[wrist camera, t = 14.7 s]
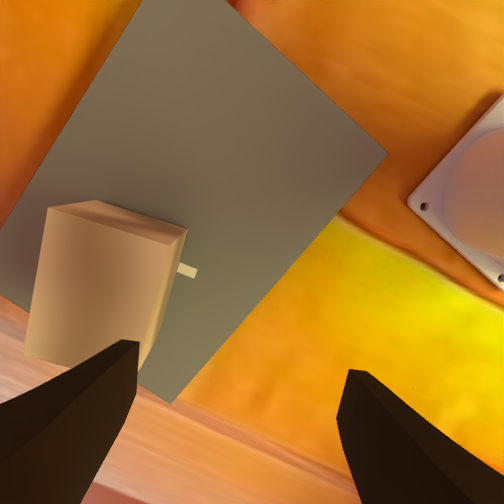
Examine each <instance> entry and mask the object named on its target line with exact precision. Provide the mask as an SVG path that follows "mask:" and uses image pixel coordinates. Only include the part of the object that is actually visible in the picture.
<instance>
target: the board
mask: <svg viewBox="0 0 504 504" xmlns="http://www.w3.org/2000/svg"><path fill="white" fill-rule="evenodd" d="M388 154H389V153H388V152H387V151H386V150H385V149H384V148H383V147H382V146H381V145H380V144H378V143H377V142H376V141H375V140H374V139H373V138H372V137H371V136H370V135H369V134H368V133H367V132H366V131H365V130H363V129H362V128H361V127H360V126H359V125H358V124H357V123H356V122H355V121H354V120H353V119H352V118H351V117H350V116H348V115H347V114H346V113H345V112H344V111H343V110H342V109H341V108H340V107H339V106H338V105H337V104H336V103H335V102H334V101H332V100H331V99H330V98H329V97H328V96H327V95H326V94H325V93H324V92H323V91H322V90H321V89H320V88H319V87H317V86H316V85H315V84H314V83H313V82H312V81H311V80H310V79H309V78H308V77H307V76H306V75H305V74H304V73H302V72H301V71H300V70H299V69H298V68H297V67H296V66H295V65H294V64H293V63H292V62H291V61H290V60H289V59H287V58H286V57H285V56H284V55H283V54H282V53H281V52H280V51H279V50H278V49H277V48H276V47H275V46H274V45H273V44H271V43H270V42H269V41H268V40H267V39H266V38H265V37H264V36H263V35H262V34H261V33H260V32H259V31H258V30H256V29H255V28H254V27H253V26H252V25H251V24H250V23H249V22H248V21H247V20H246V19H245V18H244V17H243V16H241V15H240V14H239V13H238V12H237V11H236V10H235V9H234V8H233V7H232V6H231V5H230V4H229V3H228V2H226V1H225V0H143V1H142V2H141V4H140V6H139V7H138V9H137V11H136V12H135V14H134V15H133V17H132V19H131V20H130V22H129V23H128V25H127V27H126V28H125V30H124V31H123V33H122V35H121V36H120V38H119V39H118V41H117V43H116V44H115V46H114V47H113V49H112V51H111V52H110V54H109V56H108V57H107V59H106V60H105V62H104V64H103V65H102V67H101V68H100V70H99V72H98V73H97V75H96V76H95V78H94V80H93V81H92V83H91V84H90V86H89V88H88V89H87V91H86V92H85V94H84V96H83V97H82V99H81V101H80V102H79V104H78V105H77V107H76V109H75V110H74V112H73V113H72V115H71V117H70V118H69V120H68V121H67V123H66V125H65V126H64V128H63V129H62V131H61V133H60V134H59V136H58V137H57V139H56V141H55V142H54V144H53V146H52V147H51V149H50V150H49V152H48V154H47V155H46V157H45V158H44V160H43V162H42V163H41V165H40V166H39V168H38V170H37V171H36V173H35V174H34V176H33V178H32V179H31V181H30V182H29V184H28V186H27V187H26V189H25V191H24V192H23V194H22V195H21V197H20V199H19V200H18V202H17V203H16V205H15V207H14V208H13V210H12V211H11V213H10V215H9V216H8V218H7V219H6V221H5V223H4V224H3V226H2V227H1V229H0V295H2V296H3V297H5V298H7V299H8V300H10V301H11V302H13V303H14V304H16V305H17V306H19V307H21V308H22V309H24V310H25V311H27V312H28V313H30V309H31V303H32V297H33V291H34V285H35V280H36V274H37V268H38V262H39V256H40V251H41V245H42V239H43V233H44V227H45V222H46V216H47V210H48V207H54V206H60V205H67V204H73V203H80V202H86V201H93V200H98V201H104V202H107V203H111V204H114V205H117V206H120V207H123V208H126V209H129V210H132V211H135V212H139V213H142V214H145V215H148V216H151V217H154V218H157V219H160V220H163V221H167V222H170V223H173V224H176V225H179V226H182V227H185V228H186V229H188V230H187V235H186V236H187V238H186V242H185V245H184V249H183V252H182V256H181V259H180V263H179V266H178V270H177V273H176V277H175V280H174V284H173V287H172V291H171V294H170V298H169V301H168V305H167V308H166V312H165V315H164V318H163V322H162V325H161V329H160V330H159V334H158V335H157V339H156V341H155V343H154V345H153V346H152V348H151V350H150V352H149V353H148V355H147V357H146V359H145V360H144V362H143V364H142V366H141V367H140V369H139V371H138V376H137V383H138V384H140V385H141V386H143V387H145V388H146V389H148V390H149V391H151V392H152V393H154V394H155V395H157V396H159V397H160V398H162V399H163V400H165V401H166V402H168V403H169V404H171V403H172V402H173V401H174V400H175V398H176V397H177V396H178V395H179V394H180V393H181V392H182V390H183V389H184V388H185V387H186V386H187V385H188V384H189V382H190V381H191V380H192V379H193V378H194V377H195V375H196V374H197V373H198V372H199V371H200V370H201V369H202V367H203V366H204V365H205V364H206V363H207V362H208V361H209V359H210V358H211V357H212V356H213V355H214V354H215V353H216V351H217V350H218V349H219V348H220V347H221V346H222V345H223V343H224V342H225V341H226V340H227V339H228V338H229V336H230V335H231V334H232V333H233V332H234V331H235V330H236V328H237V327H238V326H239V325H240V324H241V323H242V322H243V320H244V319H245V318H246V317H247V316H248V315H249V314H250V312H251V311H252V310H253V309H254V308H255V307H256V306H257V304H258V303H259V302H260V301H261V300H262V299H263V297H264V296H265V295H266V294H267V293H268V292H269V291H270V289H271V288H272V287H273V286H274V285H275V284H276V283H277V281H278V280H279V279H280V278H281V277H282V276H283V275H284V273H285V272H286V271H287V270H288V269H289V268H290V267H291V265H292V264H293V263H294V262H295V261H296V260H297V258H298V257H299V256H300V255H301V254H302V253H303V252H304V250H305V249H306V248H307V247H308V246H309V245H310V244H311V242H312V241H313V240H314V239H315V238H316V237H317V236H318V234H319V233H320V232H321V231H322V230H323V229H324V228H325V226H326V225H327V224H328V223H329V222H330V221H331V219H332V218H333V217H334V216H335V215H336V214H337V213H338V211H339V210H340V209H341V208H342V207H343V206H344V205H345V203H346V202H347V201H348V200H349V199H350V198H351V197H352V195H353V194H354V193H355V192H356V191H357V190H358V189H359V187H360V186H361V185H362V184H363V183H364V182H365V180H366V179H367V178H368V177H369V176H370V175H371V174H372V172H373V171H374V170H375V169H376V168H377V167H378V166H379V164H380V163H381V162H382V161H383V160H384V159H385V158H386V156H387V155H388Z"/></svg>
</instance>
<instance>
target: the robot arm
mask: <svg viewBox="0 0 504 504" xmlns="http://www.w3.org/2000/svg"><path fill="white" fill-rule="evenodd" d="M423 202H424V203H425V208H424V209H423V210H421V209H420V205H421V204H422V203H423ZM407 205H408V206H409V208H410V209H412V210H413V211H414V212H415V213H416V214H417V215H418V216H419V217H420V218H421V219H423V220H424V221H425V222H426V223H427V224H428V225H429V226H430V227H431V228H432V229H434V230H435V231H436V232H437V233H438V234H439V235H440V236H441V237H442V238H443V239H445V240H446V241H447V242H448V243H449V244H450V245H451V246H452V247H453V248H454V249H456V250H457V251H458V252H459V253H460V254H461V255H462V256H463V257H464V258H466V259H467V260H468V261H469V262H470V263H471V264H472V265H473V266H474V267H475V268H477V269H478V270H479V271H480V272H481V273H482V274H483V275H484V276H485V277H486V278H488V279H489V280H490V281H491V282H492V283H493V284H494V285H495V286H496V287H497V288H499V289H500V290H501V291H502V292H504V93H503V94H502V95H501V96H500V97H499V98H498V99H497V100H496V102H495V103H494V104H493V105H492V106H491V107H490V108H489V109H488V110H487V111H486V112H485V114H484V115H483V116H482V117H481V118H480V119H479V120H478V121H477V122H476V123H475V124H474V126H473V127H472V128H471V129H470V130H469V131H468V132H467V133H466V134H465V135H464V137H463V138H462V139H461V140H460V141H459V142H458V143H457V144H456V145H455V146H454V147H453V149H452V150H451V151H450V152H449V153H448V154H447V155H446V156H445V157H444V158H443V159H442V161H441V162H440V163H439V164H438V165H437V166H436V167H435V168H434V169H433V170H432V171H431V173H430V174H429V175H428V176H427V177H426V178H425V179H424V180H423V181H422V182H421V184H420V185H419V186H418V187H417V188H416V189H415V190H414V191H413V192H412V193H411V194H410V196H409V197H408V199H407ZM499 275H501V278H500V279H498V277H499ZM139 348H140V341H132V340H124V339H121V340H119V341H117V342H116V343H114V344H112V345H110V346H109V347H107V348H105V349H104V350H102V351H100V352H99V353H97V354H95V355H94V356H92V357H90V358H89V359H87V360H85V361H84V362H82V363H80V364H78V365H77V366H75V367H73V368H72V369H70V370H68V371H66V372H64V373H62V374H60V375H59V376H57V377H55V378H53V379H51V380H49V381H47V382H45V383H44V384H42V385H40V386H38V387H36V388H34V389H32V390H30V391H28V392H26V393H24V394H21V395H19V396H17V397H15V398H13V399H10V400H8V401H6V402H4V403H1V404H0V504H80V503H81V501H82V499H83V497H84V495H85V494H86V492H87V490H88V488H89V487H90V485H91V483H92V481H93V479H94V477H95V476H96V474H97V472H98V470H99V468H100V467H101V465H102V463H103V461H104V459H105V458H106V456H107V454H108V452H109V450H110V448H111V447H112V445H113V443H114V441H115V439H116V437H117V436H118V434H119V432H120V430H121V428H122V426H123V424H124V422H125V420H126V418H127V415H128V413H129V410H130V408H131V405H132V403H133V400H134V398H135V395H136V389H137V376H138V362H139ZM336 420H337V425H338V429H339V434H340V439H341V443H342V447H343V451H344V454H345V457H346V460H347V462H348V465H349V468H350V471H351V474H352V477H353V480H354V482H355V485H356V488H357V491H358V494H359V497H360V499H361V502H362V504H504V475H502V474H501V473H499V472H498V471H496V470H495V469H493V468H492V467H490V466H489V465H487V464H486V463H484V462H483V461H481V460H480V459H478V458H477V457H475V456H474V455H472V454H471V453H469V452H468V451H467V450H465V449H464V448H462V447H461V446H460V445H458V444H457V443H456V442H454V441H453V440H451V439H450V438H449V437H448V436H446V435H445V434H444V433H442V432H441V431H440V430H438V429H437V428H436V427H434V426H433V425H432V424H431V423H429V422H428V421H427V420H426V419H424V418H423V417H422V416H421V415H419V414H418V413H417V412H416V411H415V410H413V409H412V408H411V407H410V406H409V405H407V404H406V403H405V402H404V401H403V400H401V399H400V398H399V397H398V396H397V395H395V394H394V393H393V392H392V391H391V390H390V389H388V388H387V387H386V386H385V385H384V384H382V383H381V382H380V381H379V380H377V379H376V378H375V377H374V376H372V375H371V374H370V373H368V372H367V371H362V370H354V369H349V371H348V375H347V379H346V383H345V386H344V390H343V394H342V398H341V402H340V406H339V409H338V413H337V417H336Z"/></svg>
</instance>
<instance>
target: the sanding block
mask: <svg viewBox="0 0 504 504" xmlns="http://www.w3.org/2000/svg"><path fill="white" fill-rule="evenodd" d="M187 230H188V229H186V228H185V227H182V226H179V225H176V224H173V223H170V222H167V221H163V220H160V219H157V218H154V217H151V216H148V215H145V214H142V213H139V212H135V211H132V210H129V209H126V208H123V207H120V206H117V205H114V204H111V203H107V202H104V201H98V200H93V201H86V202H80V203H73V204H67V205H60V206H54V207H48V210H47V216H46V222H45V227H44V233H43V239H42V245H41V251H40V256H39V262H38V268H37V274H36V280H35V285H34V291H33V297H32V303H31V309H30V314H29V320H28V326H27V332H26V338H25V343H24V349H23V355H25V356H28V357H32V358H36V359H39V360H43V361H47V362H50V363H54V364H58V365H62V366H65V367H69V368H73V367H75V366H77V365H78V364H80V363H82V362H84V361H85V360H87V359H89V358H90V357H92V356H94V355H95V354H97V353H99V352H100V351H102V350H104V349H105V348H107V347H109V346H110V345H112V344H114V343H116V342H117V341H119V340H121V339H124V340H132V341H140V348H139V362H138V371H139V369H140V367H141V366H142V364H143V362H144V360H145V359H146V357H147V355H148V353H149V352H150V350H151V348H152V346H153V345H154V343H155V341H156V339H157V335H158V334H159V330H160V329H161V325H162V322H163V318H164V315H165V312H166V308H167V305H168V301H169V298H170V294H171V291H172V287H173V284H174V280H175V277H176V273H177V270H178V266H179V263H180V259H181V256H182V252H183V249H184V245H185V242H186V238H187V236H186V235H187Z"/></svg>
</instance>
